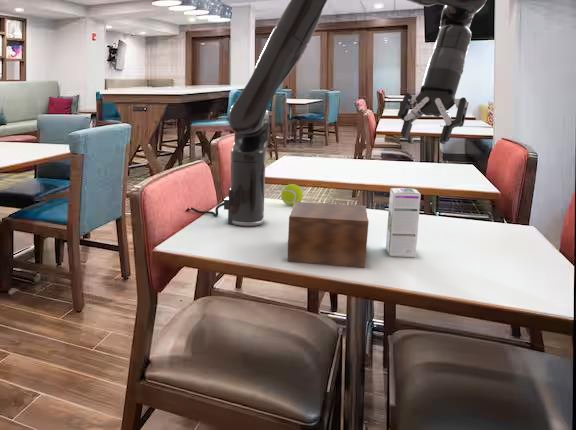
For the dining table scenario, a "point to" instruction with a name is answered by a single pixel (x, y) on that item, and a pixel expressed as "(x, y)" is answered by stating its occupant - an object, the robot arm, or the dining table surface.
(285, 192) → the tennis ball
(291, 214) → the wooden box
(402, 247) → the syrup box
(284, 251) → the dining table surface
